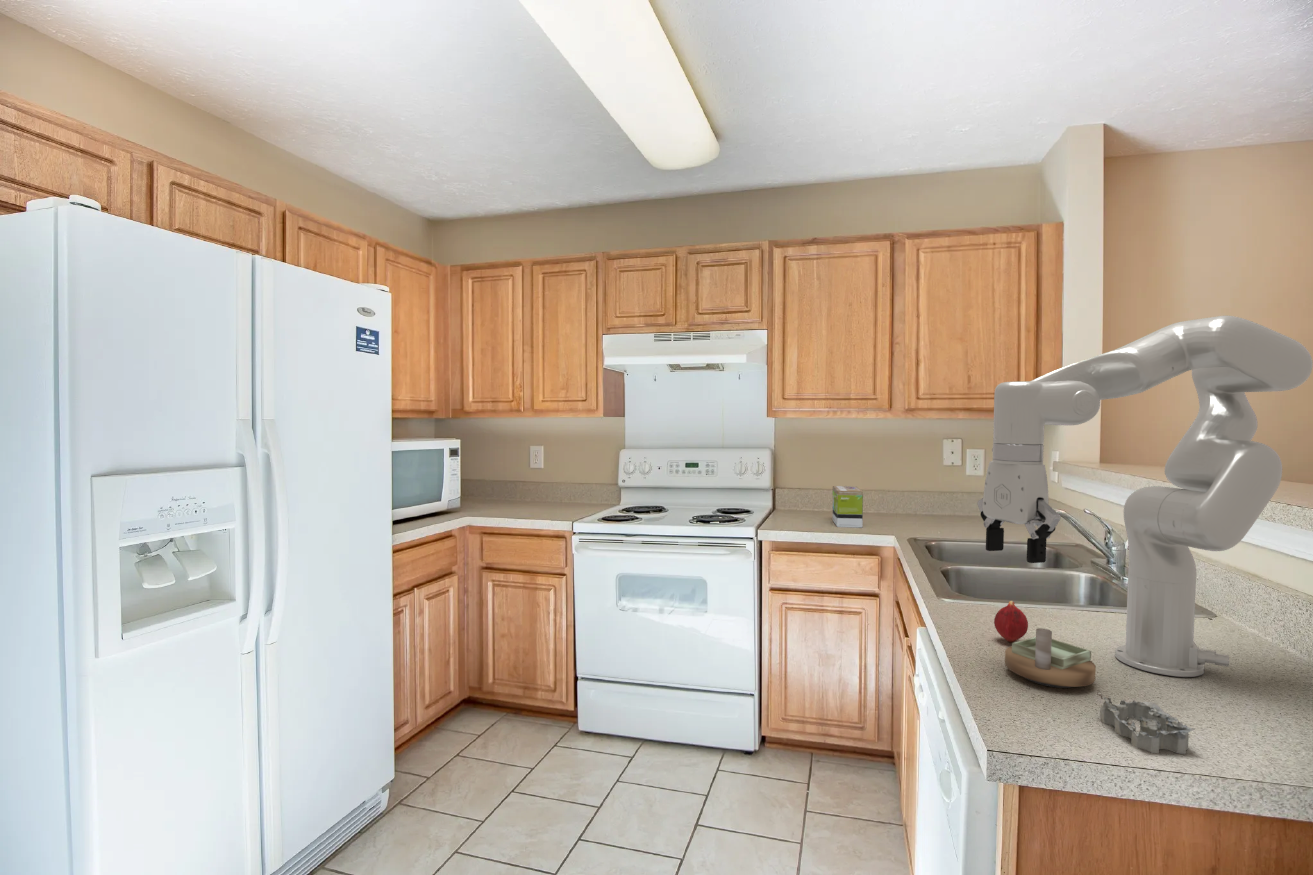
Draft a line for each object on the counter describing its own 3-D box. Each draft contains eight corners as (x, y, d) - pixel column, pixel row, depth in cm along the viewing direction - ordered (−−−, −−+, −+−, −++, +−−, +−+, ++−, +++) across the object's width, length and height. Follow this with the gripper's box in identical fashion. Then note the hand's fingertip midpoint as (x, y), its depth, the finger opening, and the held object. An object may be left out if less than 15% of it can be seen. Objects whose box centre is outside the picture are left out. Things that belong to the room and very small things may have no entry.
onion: (1032, 648, 123) (1033, 606, 122) (999, 646, 124) (1000, 604, 123) (1021, 638, 128) (1022, 598, 128) (989, 636, 129) (991, 596, 129)
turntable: (1033, 651, 118) (1034, 607, 117) (1111, 676, 106) (1113, 628, 106) (988, 663, 111) (989, 617, 111) (1066, 692, 100) (1068, 641, 100)
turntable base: (1076, 674, 110) (1076, 669, 110) (1077, 692, 103) (1077, 685, 103) (1022, 665, 114) (1022, 659, 114) (1020, 680, 108) (1020, 674, 108)
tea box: (831, 521, 267) (832, 485, 267) (856, 521, 266) (857, 485, 265) (836, 527, 252) (837, 489, 252) (863, 528, 251) (864, 490, 250)
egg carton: (1092, 717, 96) (1092, 689, 96) (1146, 720, 95) (1147, 692, 95) (1137, 754, 85) (1138, 723, 85) (1199, 757, 84) (1200, 726, 84)
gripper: (963, 451, 117) (960, 546, 118) (1040, 458, 100) (1036, 569, 101) (998, 451, 119) (995, 545, 120) (1080, 458, 102) (1076, 567, 103)
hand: (1014, 555), depth 110 cm, fingers open, 8 cm apart
